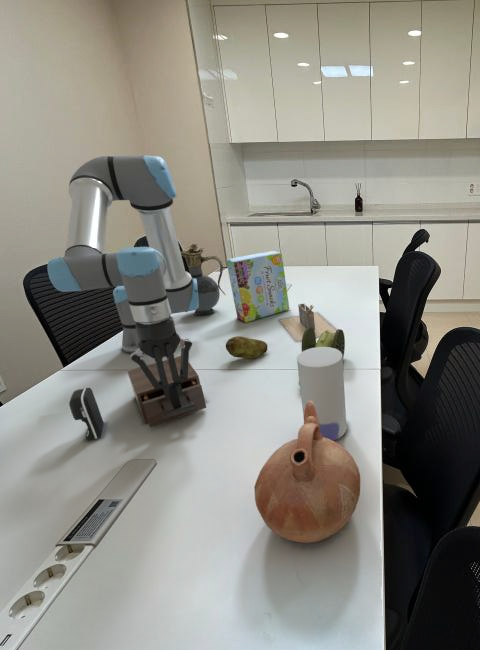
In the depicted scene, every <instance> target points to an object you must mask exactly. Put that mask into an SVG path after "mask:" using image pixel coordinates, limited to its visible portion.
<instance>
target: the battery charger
mask: <svg viewBox="0 0 480 650" xmlns="http://www.w3.org/2000/svg"><path fill="white" fill-rule="evenodd" d="M68 405H69V409H70V412H71V414H72V418H73V419H74V421H81V422H83V423H85V424H86V425H85V426H86V427H87V430H86V434H85V439H86V440H87V441H90V440H95V439H96V440H97V439H99V438H101V437H102V432H103V429H104V424H105V422H104V419H103V417H102V414H101V411H100V408H99V405H98V403H97V400H96V397H95V395H94V391H93V390H92V388H91V387H84V388H79V389H75V390H74V391H73V392H72V394H71V397H70V399H69V403H68Z"/></svg>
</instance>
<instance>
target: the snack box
mask: <svg viewBox="0 0 480 650" xmlns="http://www.w3.org/2000/svg"><path fill="white" fill-rule="evenodd" d="M225 262H226V266H227V267H226V268H227V272H228V277H229V282H230V287H231V293H232V298H233V303H234V307H235V308H234V309H235V313H236V317H237V319H239V320H241V321H242V322H243V323H245V324H246V323H249V322H251V321H256V320H258V319H262V318H265V317H268V316H271V315H275V314H279V313H281V312H285V311H288V310H290V304H289V303H290V302H289V296H288V289H287V282H286V281H287V280H286V274H285V267H284V266H285V265H284V261H283V253H282V252H279V251H275V250H269V251H263V252H258V253H253V254H247V255H243V256H236V257H232V258H228V259H225Z"/></svg>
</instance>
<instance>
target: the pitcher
mask: <svg viewBox="0 0 480 650" xmlns="http://www.w3.org/2000/svg"><path fill="white" fill-rule="evenodd" d="M187 249H188V250H182V251H181V250H180V252H181V256H182V257H183V258H184V259H185V261H186V265H187V267H188V271H189V272H188V273H189V274H190V275H191V277H192V278H195V279H196V280H197V287H198V300H199V307H198V308H197V309H196V310H194V315H195V316H207V315H210V314H212V313H214V311H215V310H214V309H213V308H214V307H215V306H217V304H218V303H219V300H220V295H221V294H220V293H222V294H224V295H226V293H225V292H224V291H223V289H222V288H221V286H220V283H221V279H222V275H223V271H224V264H223V261H222V260H221V259H220V257H218V255H217V256H216V255H208V256H206V257H205V256H202V253H204V250H205V248H202V247H201V248H199V249H198V244H197V243H192V244H191V245H190V246H187ZM209 260H215V261H217V262H218V263H219V266H220V268H219V271H220V272H219V275H218V279H217V282H216V281H215V280H214V279H213V278H212V277H210V276H209V275H206V274H203V270H202V264H203V263H204V262H208V261H209ZM220 291H221V292H220Z"/></svg>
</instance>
